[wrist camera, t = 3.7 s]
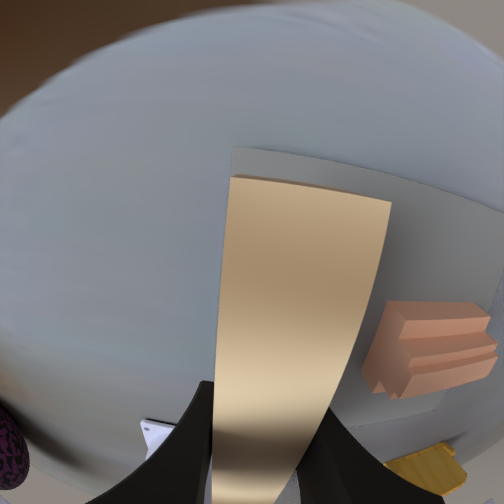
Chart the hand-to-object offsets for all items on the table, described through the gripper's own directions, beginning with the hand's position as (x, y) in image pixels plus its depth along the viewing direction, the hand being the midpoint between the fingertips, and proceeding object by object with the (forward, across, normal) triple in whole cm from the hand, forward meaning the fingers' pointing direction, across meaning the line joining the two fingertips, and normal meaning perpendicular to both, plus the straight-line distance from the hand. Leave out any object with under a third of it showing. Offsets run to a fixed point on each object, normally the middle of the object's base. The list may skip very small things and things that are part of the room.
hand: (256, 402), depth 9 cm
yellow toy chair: (+6, -24, +23) cm, 34 cm away
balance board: (+6, -8, 0) cm, 10 cm away
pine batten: (+2, 0, 0) cm, 2 cm away
